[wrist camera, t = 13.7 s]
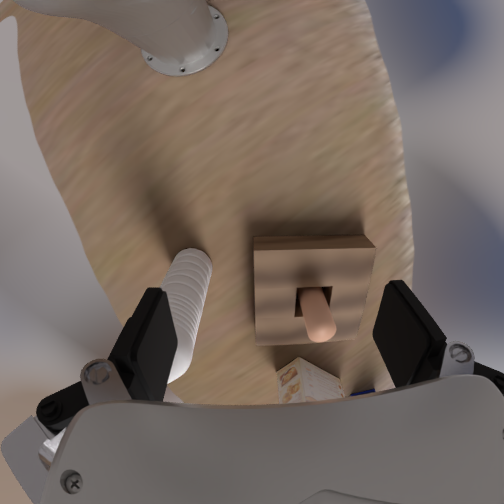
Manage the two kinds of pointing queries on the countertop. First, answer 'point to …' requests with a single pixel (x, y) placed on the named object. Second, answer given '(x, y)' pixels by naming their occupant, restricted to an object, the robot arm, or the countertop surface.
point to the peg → (316, 314)
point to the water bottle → (186, 302)
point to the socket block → (309, 283)
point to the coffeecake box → (306, 383)
